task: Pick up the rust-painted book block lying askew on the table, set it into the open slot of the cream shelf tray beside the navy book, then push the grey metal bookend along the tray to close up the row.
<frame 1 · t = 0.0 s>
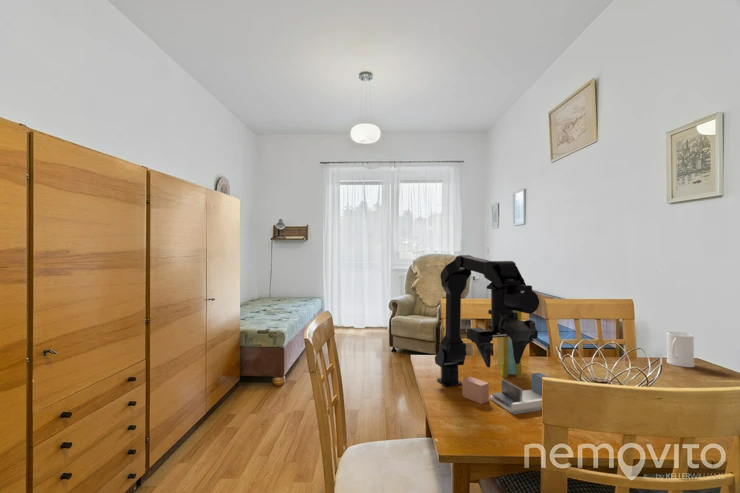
hand: (502, 365, 95), 15 cm above the table, fingers open, 9 cm apart
bookend: (506, 392, 104), point 4 cm above the table, slide at 0.0 cm
shelf: (527, 402, 106), on the table
book block: (475, 398, 109), on the table
book: (507, 370, 135), on the table
mug: (678, 365, 141), on the table
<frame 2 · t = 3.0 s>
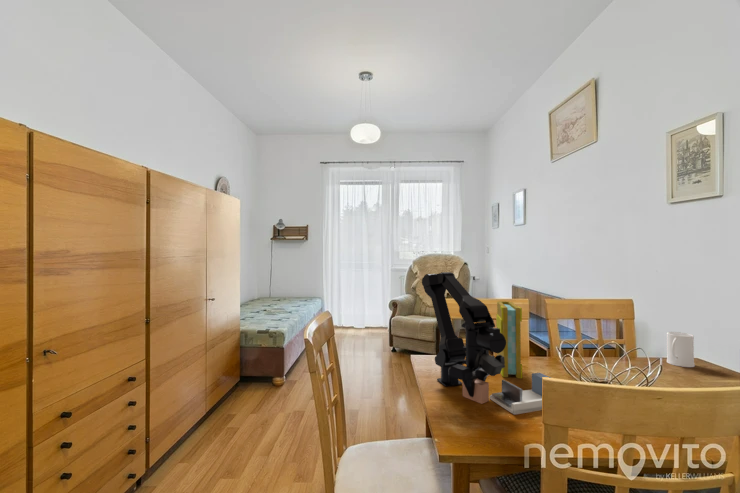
hand: (475, 395, 109), 1 cm above the table, fingers closed on book block, 3 cm apart
book block: (475, 398, 109), on the table, touching gripper
everything else where it was.
when the fingers open (3 cm above the table, at t = 7.1 s): book block drops 1 cm, resting on shelf.
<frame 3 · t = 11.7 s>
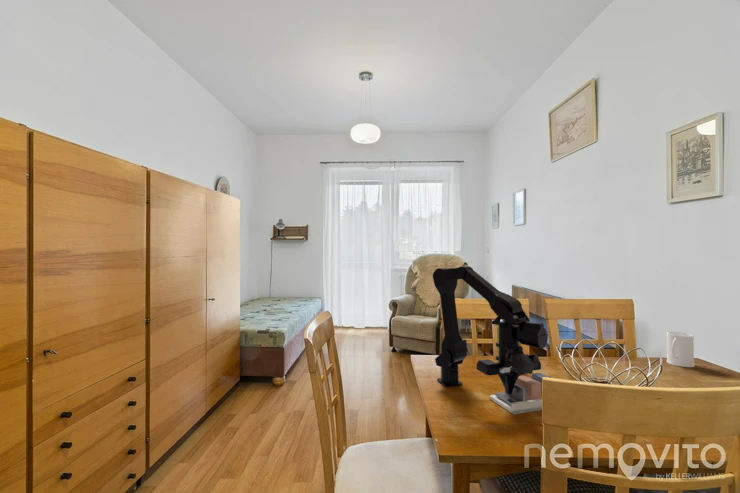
hand: (509, 393, 105), 3 cm above the table, fingers closed
bookend: (509, 392, 105), point 4 cm above the table, slide at 1.1 cm, touching gripper
book block: (527, 398, 107), point 1 cm above the table, touching shelf
everything else where it was.
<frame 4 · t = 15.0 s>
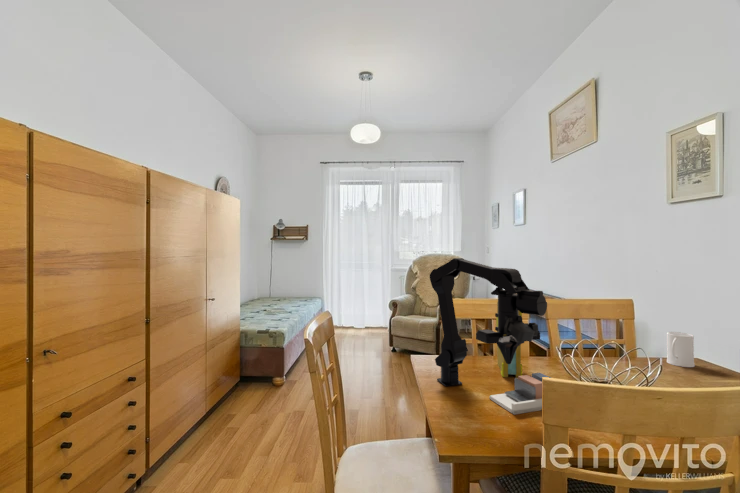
hand: (508, 363, 105), 12 cm above the table, fingers closed
bookend: (519, 390, 106), point 4 cm above the table, slide at 4.7 cm, touching book block
book block: (530, 397, 107), point 1 cm above the table, touching bookend, shelf
everything else where it was.
at the end: book block 0.3 cm from the target spot, point 1.0 cm above the table; book block tilted 0°; bookend slide at 4.7 cm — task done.
